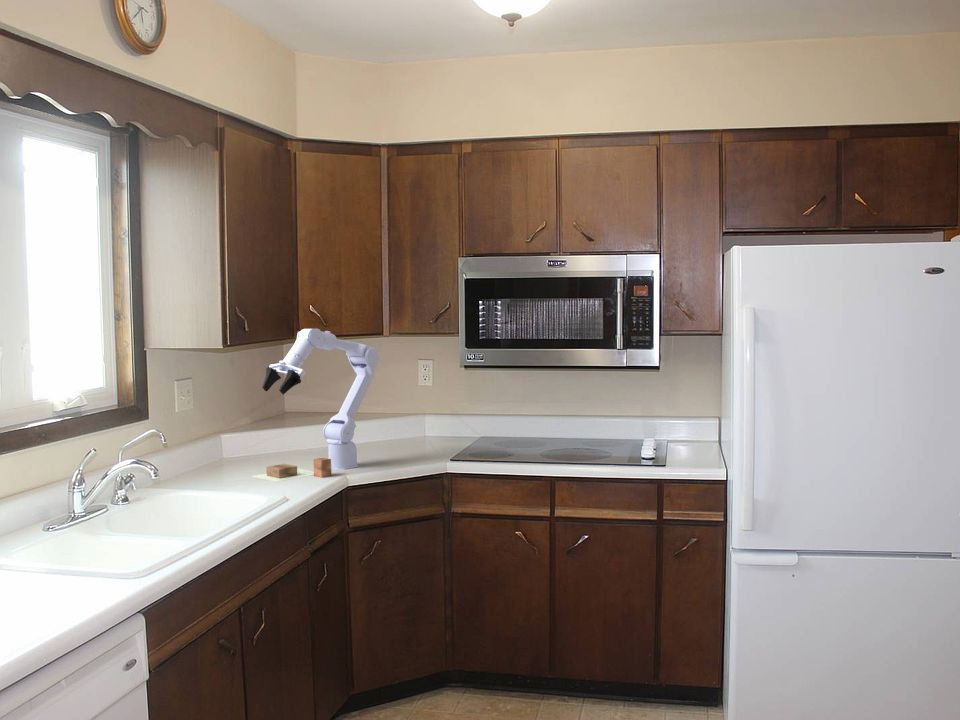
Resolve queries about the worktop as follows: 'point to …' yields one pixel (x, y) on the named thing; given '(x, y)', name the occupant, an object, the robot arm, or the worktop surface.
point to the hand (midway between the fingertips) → (272, 390)
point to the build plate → (299, 474)
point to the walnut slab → (281, 471)
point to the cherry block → (322, 467)
